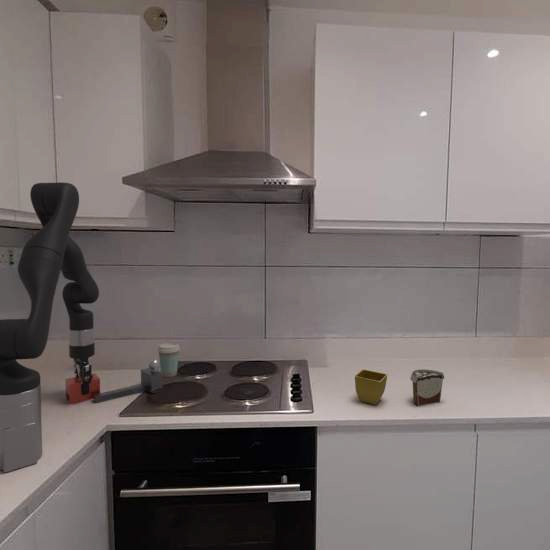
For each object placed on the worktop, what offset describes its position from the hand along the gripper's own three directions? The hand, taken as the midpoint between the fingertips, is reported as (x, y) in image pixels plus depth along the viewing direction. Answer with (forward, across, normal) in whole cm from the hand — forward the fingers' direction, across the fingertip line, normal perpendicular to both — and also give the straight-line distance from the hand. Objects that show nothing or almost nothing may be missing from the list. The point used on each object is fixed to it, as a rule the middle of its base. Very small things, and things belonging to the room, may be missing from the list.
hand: (82, 390), depth 120 cm
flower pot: (+2, +62, +74) cm, 97 cm away
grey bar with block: (+2, +6, +13) cm, 15 cm away
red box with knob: (+2, 0, 0) cm, 2 cm away
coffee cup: (+3, -4, +32) cm, 32 cm away
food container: (+2, +73, +88) cm, 114 cm away
